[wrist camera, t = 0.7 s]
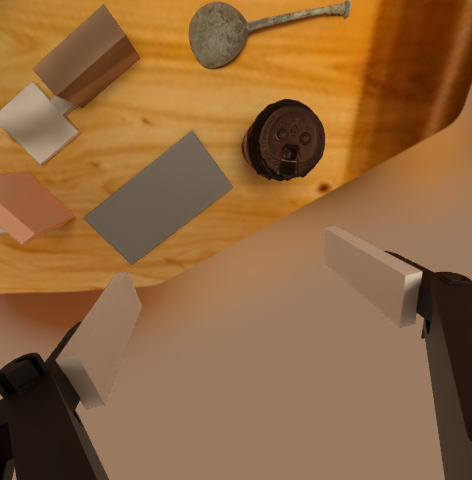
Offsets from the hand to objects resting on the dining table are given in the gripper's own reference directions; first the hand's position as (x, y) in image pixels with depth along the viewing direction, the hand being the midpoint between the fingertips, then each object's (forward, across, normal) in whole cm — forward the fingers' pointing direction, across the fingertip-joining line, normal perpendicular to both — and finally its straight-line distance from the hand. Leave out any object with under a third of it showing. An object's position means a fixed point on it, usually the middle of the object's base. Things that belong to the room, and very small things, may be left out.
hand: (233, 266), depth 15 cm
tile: (+24, -24, +5) cm, 34 cm away
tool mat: (+24, -8, +2) cm, 25 cm away
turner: (+24, -15, +17) cm, 33 cm away
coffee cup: (+24, +9, +6) cm, 26 cm away
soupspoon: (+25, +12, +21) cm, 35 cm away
